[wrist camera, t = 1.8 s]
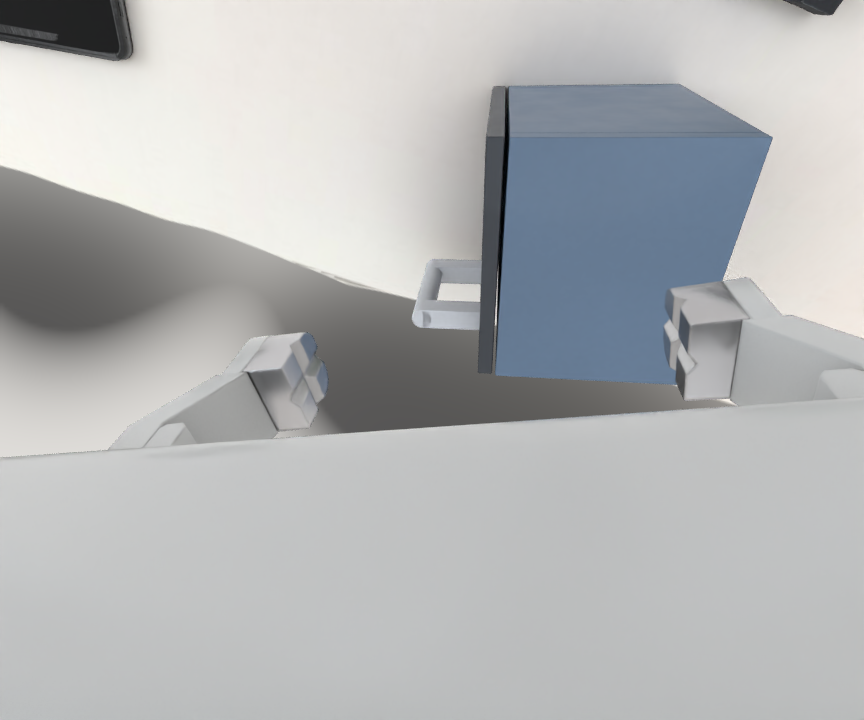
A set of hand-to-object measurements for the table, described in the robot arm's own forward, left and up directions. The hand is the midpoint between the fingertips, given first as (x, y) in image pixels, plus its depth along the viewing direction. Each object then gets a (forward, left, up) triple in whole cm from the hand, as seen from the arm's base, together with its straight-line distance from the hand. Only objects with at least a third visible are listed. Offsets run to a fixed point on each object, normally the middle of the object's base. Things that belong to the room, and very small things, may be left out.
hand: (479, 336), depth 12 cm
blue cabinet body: (+10, -2, -36) cm, 37 cm away
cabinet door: (+2, -8, -36) cm, 37 cm away
